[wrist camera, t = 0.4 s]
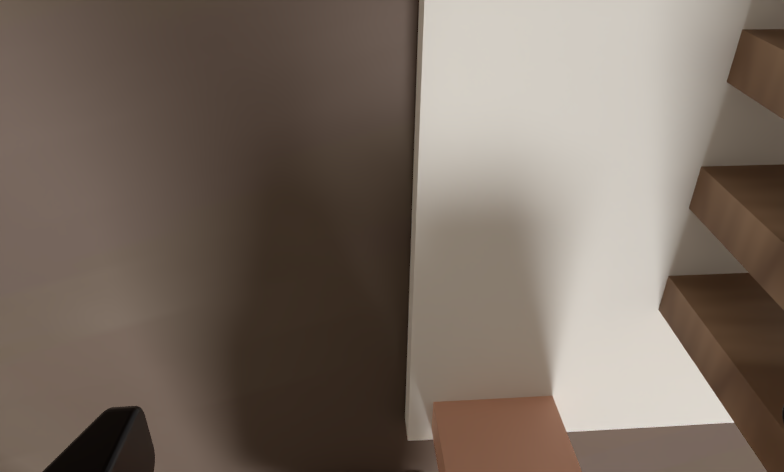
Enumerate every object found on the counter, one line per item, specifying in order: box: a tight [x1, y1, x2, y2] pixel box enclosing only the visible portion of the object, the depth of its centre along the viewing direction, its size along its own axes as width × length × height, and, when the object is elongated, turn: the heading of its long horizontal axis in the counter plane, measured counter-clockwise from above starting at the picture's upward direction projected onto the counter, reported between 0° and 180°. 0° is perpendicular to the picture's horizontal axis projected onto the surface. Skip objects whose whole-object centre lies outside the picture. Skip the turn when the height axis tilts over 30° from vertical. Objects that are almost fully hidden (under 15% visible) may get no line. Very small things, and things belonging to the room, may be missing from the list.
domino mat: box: [405, 0, 784, 441], centre depth 23 cm, size 23×18×1 cm
